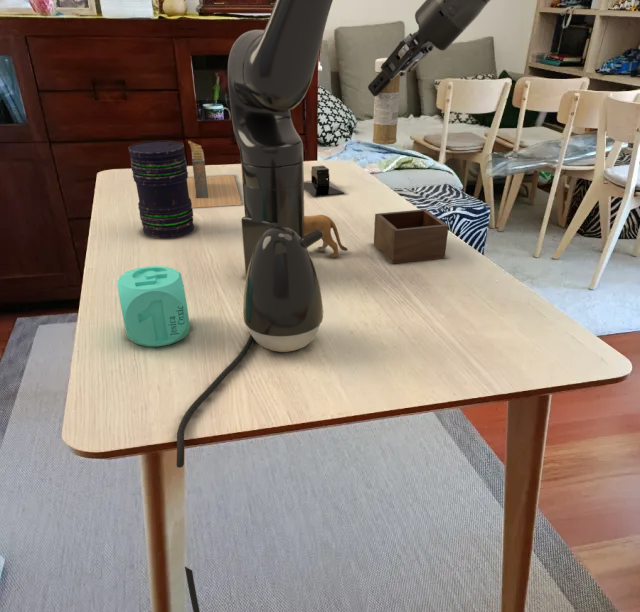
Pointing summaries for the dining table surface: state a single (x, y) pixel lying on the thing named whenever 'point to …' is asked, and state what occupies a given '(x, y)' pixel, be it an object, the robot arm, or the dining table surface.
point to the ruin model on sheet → (199, 174)
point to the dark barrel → (162, 188)
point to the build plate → (321, 183)
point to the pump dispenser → (283, 291)
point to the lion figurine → (324, 232)
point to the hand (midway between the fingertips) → (376, 89)
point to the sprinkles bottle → (386, 109)
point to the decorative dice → (153, 306)
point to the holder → (410, 236)
